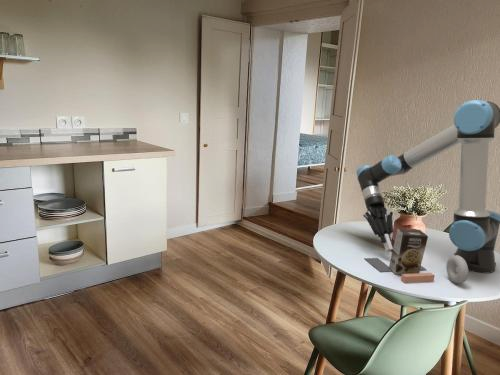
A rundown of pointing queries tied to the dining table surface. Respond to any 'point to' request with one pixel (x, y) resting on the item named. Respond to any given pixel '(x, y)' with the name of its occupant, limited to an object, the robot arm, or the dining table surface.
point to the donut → (457, 269)
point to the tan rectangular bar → (417, 277)
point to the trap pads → (382, 265)
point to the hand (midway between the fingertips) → (389, 250)
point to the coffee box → (408, 251)
